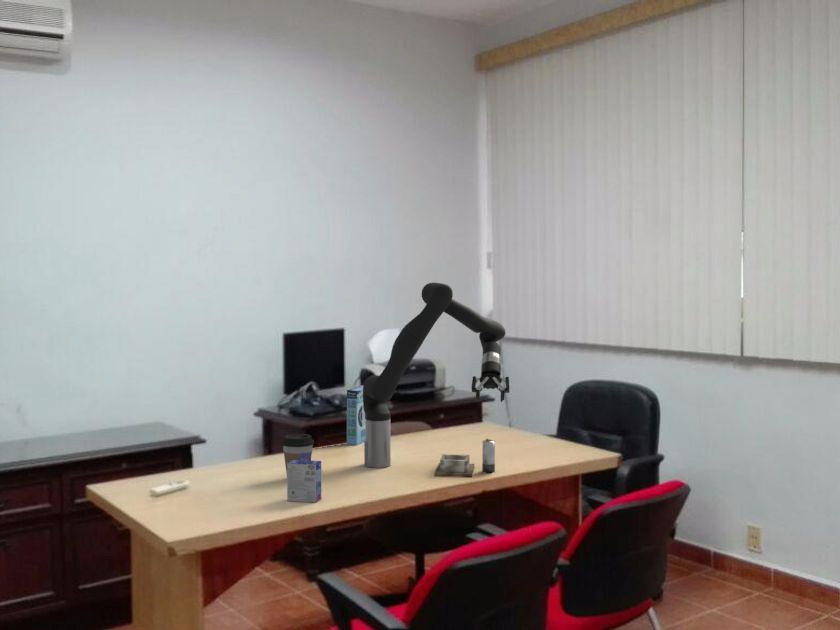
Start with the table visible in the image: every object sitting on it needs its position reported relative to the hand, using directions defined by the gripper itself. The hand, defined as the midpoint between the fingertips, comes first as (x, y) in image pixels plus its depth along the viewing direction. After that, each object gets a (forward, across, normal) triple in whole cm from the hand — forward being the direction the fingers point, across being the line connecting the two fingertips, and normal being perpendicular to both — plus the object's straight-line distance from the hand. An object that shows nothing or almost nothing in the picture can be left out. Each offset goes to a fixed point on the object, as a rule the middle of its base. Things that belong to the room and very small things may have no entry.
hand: (490, 400), depth 320 cm
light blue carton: (-9, -56, +43) cm, 71 cm away
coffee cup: (+40, -65, -6) cm, 76 cm away
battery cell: (+26, 0, +7) cm, 27 cm away
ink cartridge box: (+58, -56, -25) cm, 84 cm away
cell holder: (+27, -12, +6) cm, 30 cm away
